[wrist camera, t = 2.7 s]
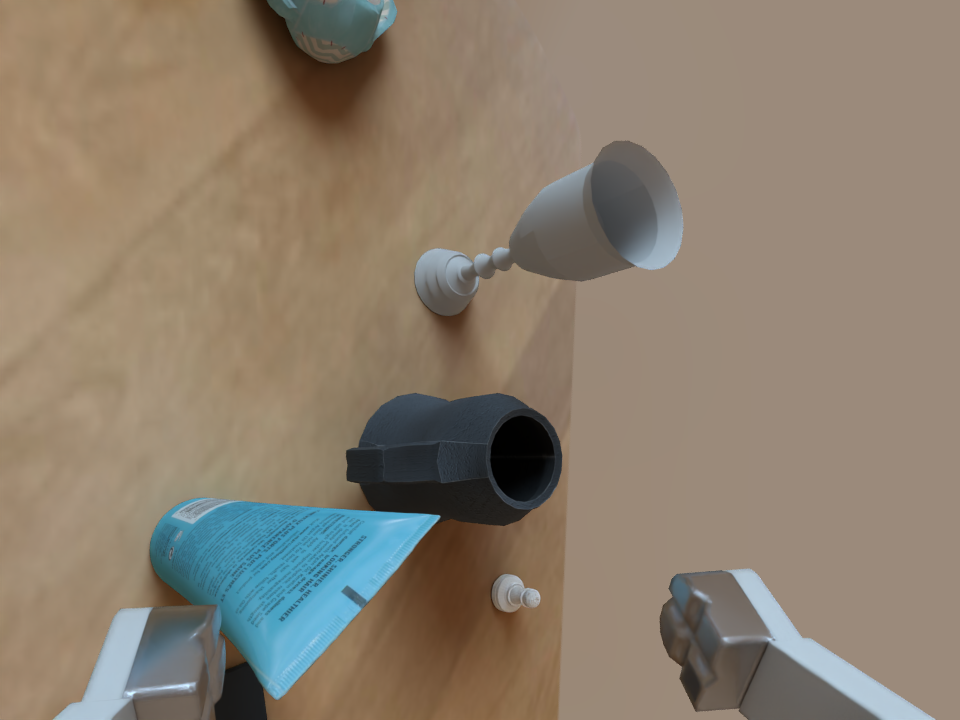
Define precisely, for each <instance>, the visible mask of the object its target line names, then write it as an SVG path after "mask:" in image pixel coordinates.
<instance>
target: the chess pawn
mask: <svg viewBox="0 0 960 720" xmlns="http://www.w3.org/2000/svg"><path fill="white" fill-rule="evenodd" d="M540 600H541V597H540V594H539V592H538V591H537V590H535V589H530V588H524V584H523V582H522V580H521V579H520V578H519V577H517V576H515V575H510V574H503V575H501V576H500V577H498V579H497V580H496V581H495V583H494V585H493V588H492V601H493V603H494V605H495V607H496V608H497V609H499V610H501V611H504V612H514V611H516V610H517V609H519V607H520V606H521V605H523V606H524V607H528V608H536V607H537V606H538V605H539V603H540Z"/></svg>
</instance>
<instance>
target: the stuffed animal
mask: <svg viewBox="0 0 960 720" xmlns="http://www.w3.org/2000/svg"><path fill="white" fill-rule="evenodd" d="M267 2H268V4H269V5H270V7H272V8H273V9H274V10H275V11H276V12H277V13H278V14H279V15H280V16H282V17H284V18H285V20H286V24H287V27H288V29H289V31H290V34H291V36H292V38H293V40H294V42H295V43H296V45H297V46H298V47H299V48H300V49H302V50H303V51H304V52H305V53H307V54H308V55H310V56H311V57H313V58H314V59H316V60H318V61H320V62H324V63H340V62H342V61H345V60H348V59H351V58H353V57H356V56H357V55H358V54H360V53H361V52H366V51H368V50H369V49H370V48H371V46H372V44H373V42H374V41H375V40H376V39H377V38H378V37H379V36H380V35H381V34H382V33H383V32H384V31H386V30H387V29H388V28H389V27H390V26H391V25H392V24H393V23H394V21H395V17H396V14H397V10H396V7H395V5H394V2H393V0H267Z"/></svg>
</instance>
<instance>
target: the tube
mask: <svg viewBox="0 0 960 720" xmlns="http://www.w3.org/2000/svg"><path fill="white" fill-rule="evenodd" d="M439 519H440V516H439V515H431V514H418V513H395V512H378V511H362V510H346V509H332V508H317V507H304V506H290V505H279V504H267V503H255V502H246V501H236V500H225V499H215V498H196V499H191V500H188V501H185V502H183V503H180V504H178V505H177V506H175V507H174V508H172V509H171V510H170V511H168V512H167V513H166V514H165V515H164V516H163V518H162V519H161V520H160V521H159V523H158V525H157V526H156V528H155V530H154V533H153V535H152V538H151V542H150V558H151V562H152V565H153V568H154V570H155V572H156V573H157V574H158V576H159V577H160V578H161V579H162V580H163V581H164V582H165V583H167V584H168V585H169V586H171V587H172V588H173V589H174V590H176V591H177V592H178V593H179V594H181V595H182V596H183V597H184V598H186V599H187V600H188V601H189V602H190V603H192V604H193V605H214V604H217V605H220V611H221V617H222V621H221V626H220V630H221V631H222V632H223V633H224V634H225V635H226V636H227V638H228V639H229V640H230V641H231V642H232V643H233V644H234V646H235V647H236V648H237V649H238V650H239V652H240V653H241V654H242V656H243V657H244V658H245V659H246V661H247V662H248V664H249V665H250V667H251V668H252V670H253V671H254V673H255V675H256V677H257V679H258V680H259V682H260V684H261V685H262V687H263V688H264V689H265V690H266V691H267V692H268V693H269V694H270V695H271V696H272V697H273V698H274V699H276V700H279V699H281V698H282V696H284V695H285V694H286V693H287V692H288V690H289V689H290V688H291V687H292V686H293V685H294V684H295V683H296V682H297V681H298V680H299V678H300V677H301V676H302V675H303V674H304V673H305V672H306V671H307V670H308V669H309V668H310V667H311V666H312V665H313V664H314V662H315V661H316V660H317V659H318V658H319V657H320V656H321V655H322V654H323V653H324V652H325V651H326V649H327V648H328V647H329V646H330V645H331V644H332V642H333V641H334V640H335V639H336V638H337V637H338V636H339V635H340V634H341V633H342V632H343V630H344V629H345V628H346V627H347V626H348V625H349V624H350V622H351V621H352V620H353V619H354V618H355V617H356V616H357V615H358V614H359V612H360V611H361V610H362V609H363V608H364V607H365V606H366V605H367V604H368V603H369V601H370V600H371V599H372V598H373V597H374V596H375V595H376V593H377V592H378V591H379V590H380V589H381V588H382V586H383V585H384V584H386V582H387V581H388V580H389V578H390V577H391V576H392V575H393V574H394V573H395V572H396V571H397V570H398V568H399V567H400V566H401V565H402V563H403V562H404V561H405V559H406V558H407V557H408V556H409V555H410V553H411V552H412V551H413V549H414V548H415V546H416V545H417V544H418V543H419V541H420V540H421V539H422V538H423V537H424V536H425V535H426V533H427V532H428V531H429V530H430V529H431V528H432V527H433V525H434V524H435V523H436V522H438V520H439Z"/></svg>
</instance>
